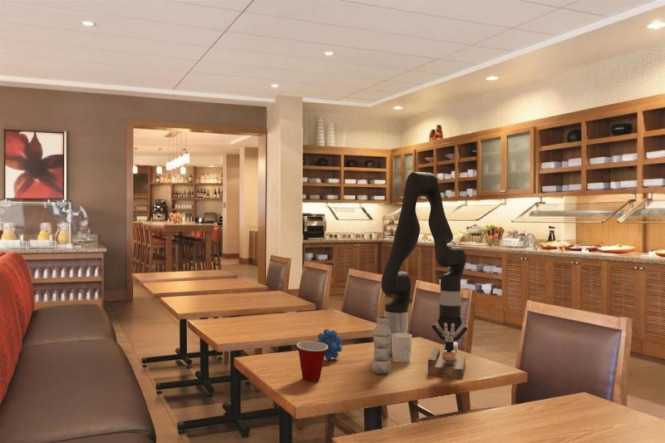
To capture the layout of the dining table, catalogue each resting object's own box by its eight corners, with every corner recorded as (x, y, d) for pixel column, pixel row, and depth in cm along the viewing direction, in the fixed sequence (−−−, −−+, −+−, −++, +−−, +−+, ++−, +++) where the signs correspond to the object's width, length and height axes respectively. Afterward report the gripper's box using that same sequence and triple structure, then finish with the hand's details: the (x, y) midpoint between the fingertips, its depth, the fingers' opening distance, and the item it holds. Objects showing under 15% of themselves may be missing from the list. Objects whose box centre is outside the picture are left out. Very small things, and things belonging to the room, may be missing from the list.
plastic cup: (316, 386, 189) (316, 349, 189) (289, 380, 195) (290, 345, 195) (333, 378, 198) (334, 343, 198) (307, 373, 204) (308, 339, 204)
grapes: (322, 364, 216) (322, 332, 216) (312, 360, 222) (313, 329, 221) (347, 360, 222) (348, 329, 222) (338, 356, 228) (338, 326, 228)
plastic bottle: (392, 371, 208) (393, 316, 207) (387, 376, 201) (388, 319, 201) (374, 369, 210) (375, 315, 209) (369, 374, 203) (370, 318, 203)
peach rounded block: (441, 365, 204) (441, 352, 204) (442, 361, 209) (443, 349, 208) (454, 366, 203) (455, 353, 203) (455, 362, 207) (456, 350, 207)
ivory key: (444, 355, 216) (444, 343, 216) (445, 352, 220) (445, 341, 220) (457, 356, 214) (457, 344, 214) (458, 353, 219) (458, 342, 219)
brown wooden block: (427, 374, 205) (428, 359, 205) (433, 361, 222) (433, 347, 222) (462, 377, 202) (462, 362, 201) (465, 364, 219) (465, 350, 219)
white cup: (410, 363, 219) (411, 337, 219) (390, 362, 220) (390, 336, 220) (412, 358, 227) (412, 333, 226) (392, 357, 228) (392, 332, 228)
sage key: (443, 358, 210) (443, 346, 210) (444, 355, 214) (444, 343, 214) (456, 359, 209) (456, 347, 209) (457, 356, 213) (457, 344, 213)
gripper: (469, 302, 207) (468, 350, 207) (432, 300, 211) (431, 347, 211) (468, 305, 200) (467, 355, 200) (430, 303, 203) (429, 352, 204)
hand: (449, 351), depth 206 cm, fingers closed
